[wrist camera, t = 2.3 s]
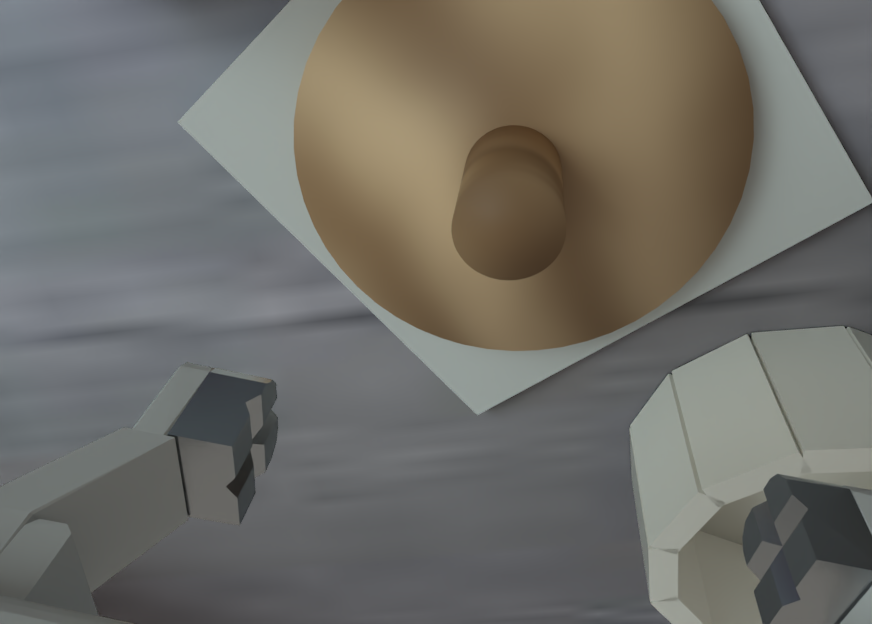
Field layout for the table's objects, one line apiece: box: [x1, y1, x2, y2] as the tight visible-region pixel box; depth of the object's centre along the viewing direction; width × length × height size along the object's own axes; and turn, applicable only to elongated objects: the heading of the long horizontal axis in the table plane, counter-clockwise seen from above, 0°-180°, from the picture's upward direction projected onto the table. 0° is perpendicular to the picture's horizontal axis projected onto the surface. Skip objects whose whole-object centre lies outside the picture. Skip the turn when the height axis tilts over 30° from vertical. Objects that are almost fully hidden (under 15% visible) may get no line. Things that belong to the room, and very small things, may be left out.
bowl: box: [629, 326, 872, 624], centre depth 25 cm, size 12×12×6 cm
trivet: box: [178, 0, 872, 415], centre depth 22 cm, size 16×16×1 cm
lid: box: [294, 0, 754, 351], centre depth 19 cm, size 14×14×5 cm
